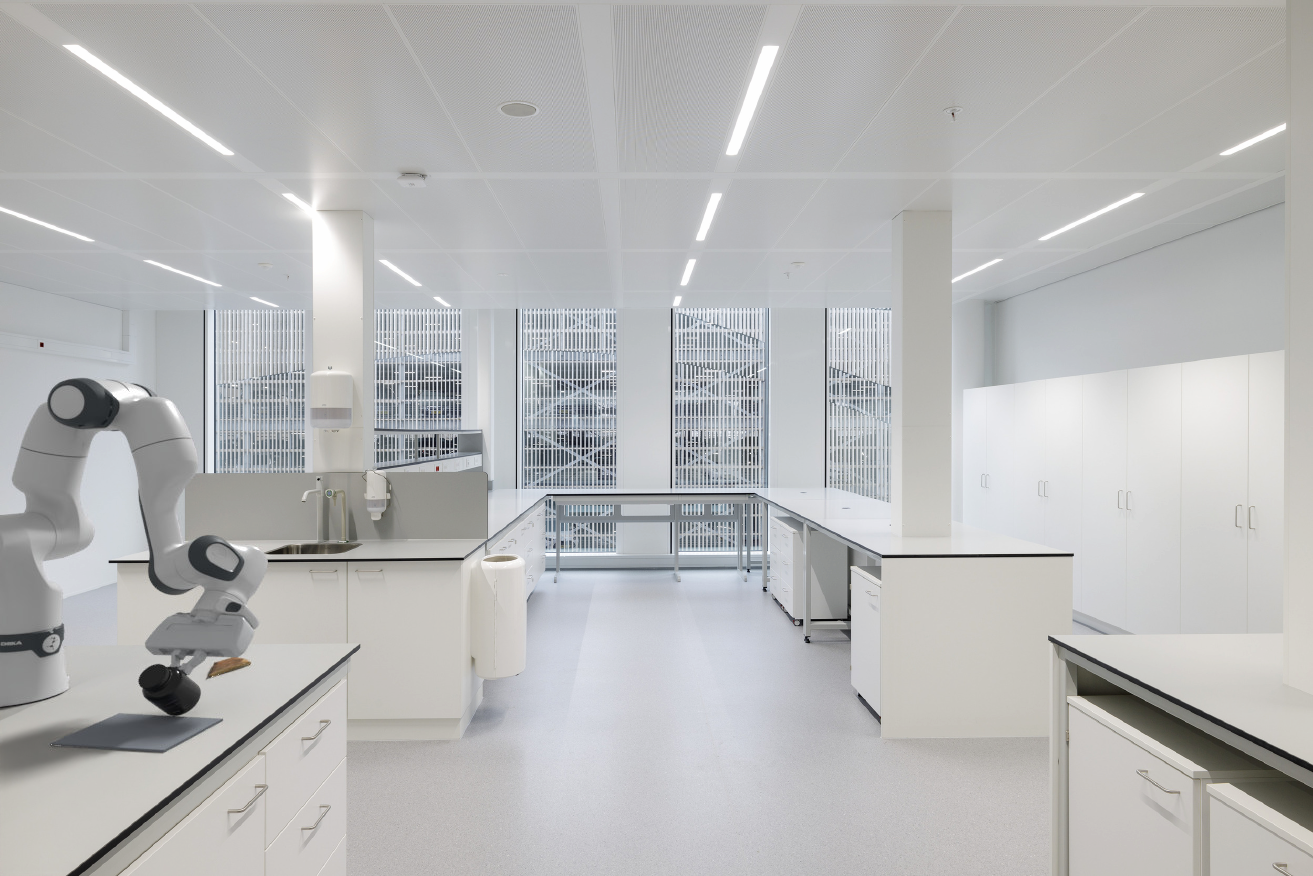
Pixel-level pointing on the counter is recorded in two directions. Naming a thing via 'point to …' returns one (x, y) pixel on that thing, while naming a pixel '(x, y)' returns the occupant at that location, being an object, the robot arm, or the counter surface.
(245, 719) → the counter surface
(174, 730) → the mat
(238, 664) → the shard
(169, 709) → the supplement bottle
